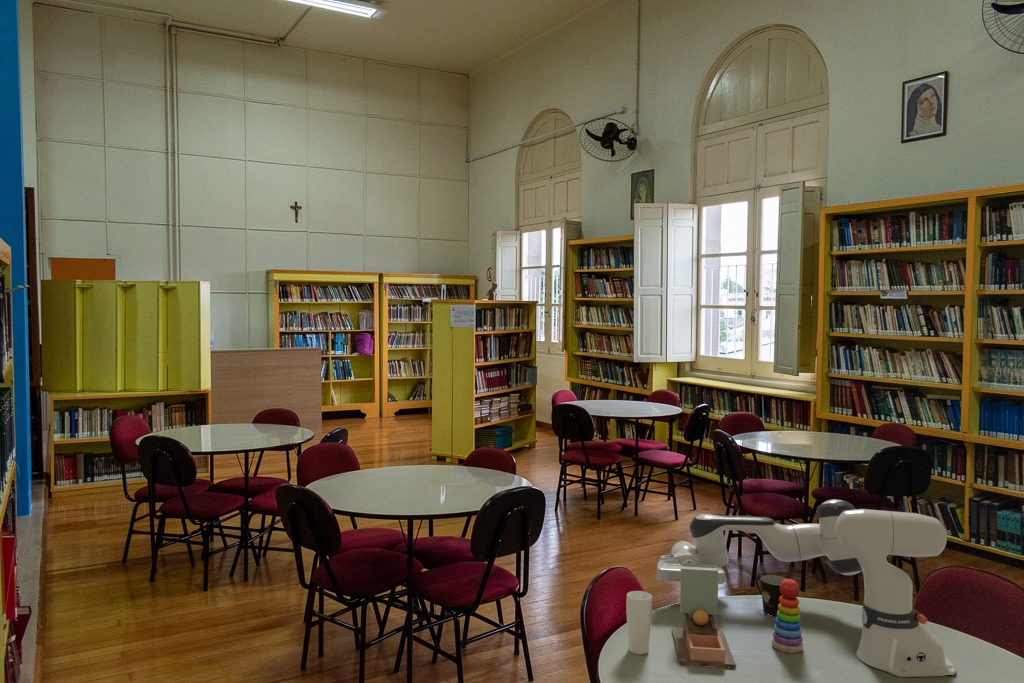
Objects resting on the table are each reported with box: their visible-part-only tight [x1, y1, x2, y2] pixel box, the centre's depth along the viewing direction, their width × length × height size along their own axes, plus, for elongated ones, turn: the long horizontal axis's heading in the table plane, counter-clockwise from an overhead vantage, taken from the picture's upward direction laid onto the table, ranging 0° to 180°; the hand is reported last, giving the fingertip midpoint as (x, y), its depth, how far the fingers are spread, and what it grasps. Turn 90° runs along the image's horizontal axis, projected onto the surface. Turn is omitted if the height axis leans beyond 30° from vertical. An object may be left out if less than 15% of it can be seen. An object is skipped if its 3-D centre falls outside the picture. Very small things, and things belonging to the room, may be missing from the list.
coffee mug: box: [755, 574, 788, 617], centre depth 224 cm, size 12×9×10 cm
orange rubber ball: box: [693, 610, 708, 625], centre depth 201 cm, size 4×4×4 cm
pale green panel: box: [679, 567, 719, 618], centre depth 205 cm, size 10×2×14 cm, turn 83°
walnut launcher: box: [671, 613, 737, 669], centre depth 197 cm, size 14×21×6 cm, turn 173°
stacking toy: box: [771, 578, 804, 654], centre depth 198 cm, size 8×8×19 cm
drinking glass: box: [625, 590, 653, 656], centre depth 195 cm, size 7×7×15 cm
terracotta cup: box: [686, 634, 725, 664], centre depth 191 cm, size 9×9×4 cm
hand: (693, 582), depth 217 cm, fingers closed
